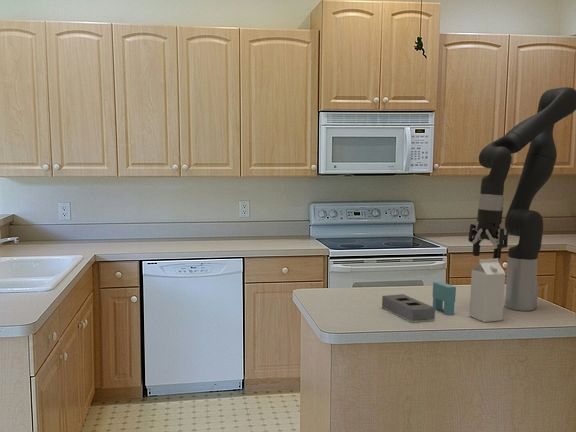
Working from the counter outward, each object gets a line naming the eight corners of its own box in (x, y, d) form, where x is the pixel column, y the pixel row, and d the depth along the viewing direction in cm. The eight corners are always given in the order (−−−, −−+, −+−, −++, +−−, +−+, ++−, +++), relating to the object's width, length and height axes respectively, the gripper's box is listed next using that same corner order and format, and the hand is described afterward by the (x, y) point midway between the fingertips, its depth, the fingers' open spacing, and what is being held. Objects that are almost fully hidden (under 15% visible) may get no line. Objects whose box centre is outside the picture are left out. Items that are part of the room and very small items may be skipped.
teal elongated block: (431, 308, 190) (433, 282, 189) (439, 307, 191) (440, 281, 190) (446, 315, 183) (448, 287, 182) (454, 314, 184) (455, 286, 183)
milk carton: (469, 316, 182) (472, 257, 179) (487, 314, 184) (490, 256, 182) (484, 322, 175) (487, 261, 173) (502, 320, 177) (506, 260, 175)
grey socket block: (382, 307, 190) (382, 295, 190) (402, 305, 193) (403, 294, 192) (412, 322, 173) (412, 310, 173) (434, 320, 176) (435, 307, 176)
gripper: (516, 210, 180) (511, 261, 182) (482, 206, 193) (477, 254, 194) (499, 210, 177) (494, 262, 178) (465, 206, 189) (461, 254, 191)
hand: (485, 258), depth 186 cm, fingers open, 8 cm apart
